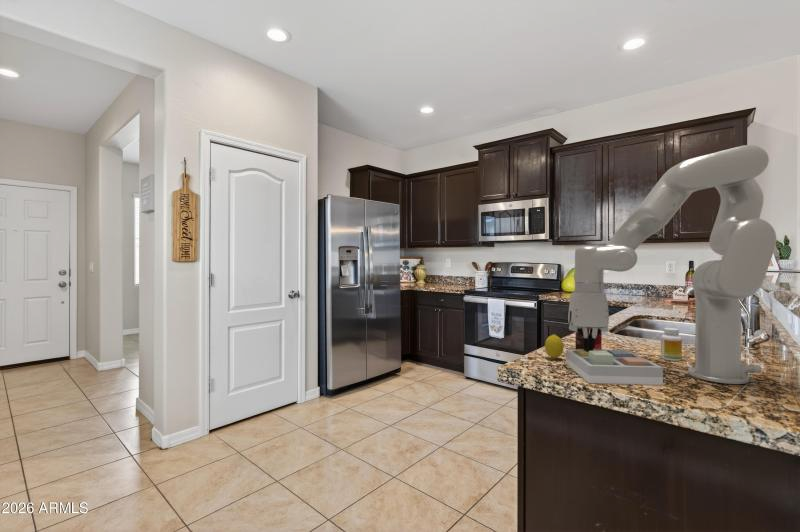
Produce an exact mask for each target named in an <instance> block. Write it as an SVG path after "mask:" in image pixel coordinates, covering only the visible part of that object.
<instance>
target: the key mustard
mask: <svg viewBox="0 0 800 532" xmlns="http://www.w3.org/2000/svg"><path fill="white" fill-rule="evenodd" d="M593 351H596V350H594V349H593ZM578 355H579V356H580V357H589V352H586V351H585V350H584V349H578Z"/></svg>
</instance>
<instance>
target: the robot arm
mask: <svg viewBox="0 0 800 532" xmlns="http://www.w3.org/2000/svg"><path fill="white" fill-rule="evenodd" d="M769 160H770V159H769V155H768V153H767V151H766V150H765V149H763V147H760V146H757V145H752V144H745V145H740V146H735V147H732V148H728V149H724V150H720V151H716V152H712V153H708V154H704V155H700V156H695V157H692V158H689V159H685V160H683V161H681V162H679V163H678V164H676V165H674V166H671V167H670V168H669V169H668V170H666V171H665V173H664V174H662V176H661V177H660V179H659V180H658V181H657V183H655V185H654V186H653V187H652V189H651V190H650V191H649V192H648V194H647V196H645V197H644V199H643V200H642V202H641V203H640V204H639V205H638V207H637V208H636V209H635V210H634V211H633V212H632V214H630V215H629V217H628V218H627V219H626V221H625V222H624V223H623V224H622V225H621V226H620V227H619V228H618V230H617V231H615V233H614V234H613V235H612V237H610V239H609V240H608V242H607V243H606V244H605V245H604V246H598V245H586V246H585V245H583V246H578V247H577V248H575V250H574V292H571V293H570V297H569V298H570V299H569V303H568V304H569V305H568V317H567V321H568V323H569V325H568V330H569V331H572V332H575V333H576V332H578V333H579V334H580V335H581V336H582V348H583V349H584V350H585V351H586V352H589V351H593V349H594V348H595V338H596V337H597V335H599V334H600V333H601V332H602V333H606V332H608V331H609V325H610V323H609V322H610V318H609V317H610V314H609V313H610V312H609V304H608V299H607V295H606V293H605V291H606V290H609V284H605V282H604V276H605V275H604V274H605V273H604V271H613V272H618V273H619V272H620V273H621V272H627V271H629V270H631V269H633V268H634V267H635V266H636V264H637V262H638V254H637V252H636V250H637V248H638V247H640V245H641V244H642V243H643V242H644V241H646V240H647V239H648V238H649V237H650V236H653V235H654V234H656V233H657V232H659V231H660V230H661V229H663V228H664V227H665V226H666V225H668V224H669V222H671V221H670V220H672V218H674V216H675V215H676V213H677V212H678V211H679V209H680V208H681V207H682V206H683V204H684V203H685V202H686V201H687V200H688V199H689V197H690V196H691V195H692V194H693V193H695V192H697V191H701V190H706V189H711V188H715V189H716V190H717V192H718V194H719V196H720V204H719V209H718V213H717V214H716V215H717V216H716V218H715V222H714V224H713V227H712V230H711V232H710V233H711V234H710V236H709V241H708V243H709V247H710V249H711V250H712V251H713V252H714V253H715V254H718V255H720V256H721V259H715V260H709V261H705V262H703V263H701V264H700V265H698V266H697V267H696V268H695V270H694V272H693V274H692V277H691V278H692V279H691V280H692V281H691V282H692V283H691V285H692V289H693V294H694V304H695V306H694V307H695V308H694V309H695V312H694V313H695V322H694V323H695V325H694V326H695V332H694V334H695V335H694V337H695V338H694V341H695V343H694V344H695V345H694V346H695V347H694V352H695V353H694V364H695V365H694V366H691V367H689V368H687V373H688V374H689V375H690V376H692V377H693V378H696V379H700V380H704V381H709V382H711V383H719V384H729V385H742V384H747V383H749V382H750V380H749V376H748V375H747V374H748V373H761V372H762V366H760V365H759V364H747V363H745V362H742V308H741V303H740V299H746V298H749V297H751V296H754V294H756V293H757V292H758V291H759V290H760V288H761V287H762V285H763V283H764V280H765V278H766V275H767V272H768V269H769V267H770V264H771V261H772V259H773V258H772V257H773V255H774V251H775V249H776V245H777V233H776V231H775V229H774V227H773V225H771V224H770V223H769V222H768V221H767V220H764V219H762V218H760V217H761V213H762V210H763V206H764V192H763V190H762V188H761V186H760V184H759V183H758V181H757V180H756V179H755V178H756V177H758V176H760V175H761V174H763V173H764V171H765V170H766V169H767V167H768V165H769V162H770V161H769ZM577 327H579V328H577ZM587 328H590V330H589V335H588V332H587Z"/></svg>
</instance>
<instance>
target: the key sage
mask: <svg viewBox="0 0 800 532" xmlns="http://www.w3.org/2000/svg"><path fill="white" fill-rule="evenodd" d="M589 362H590V363H591V364H593V365H613V355H612V354H610V353H609V352H607V351H589Z"/></svg>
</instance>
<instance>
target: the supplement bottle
mask: <svg viewBox="0 0 800 532" xmlns="http://www.w3.org/2000/svg"><path fill="white" fill-rule="evenodd" d="M663 333H664V334H662V335H661V337H660V338H661V340H660V345H661V346H660V348H661V349H660V350H661V353H660V355H661V358H662V359H663V360H667V361H672V362H681V361H682V360H683V358H682V357H683V350H682V348H683V345H682V344H683V343H682V342H683V340H682V339H683V338H682V336H680V335H679V334H680V329H679V328H674V327H664V328H663Z"/></svg>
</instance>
